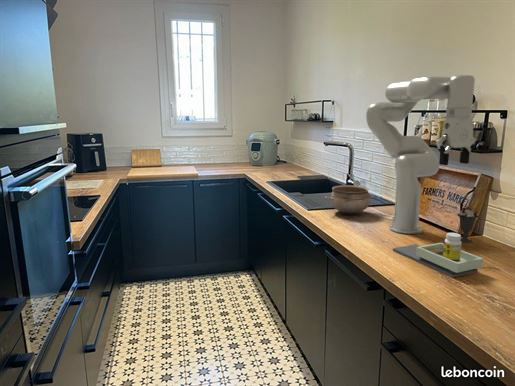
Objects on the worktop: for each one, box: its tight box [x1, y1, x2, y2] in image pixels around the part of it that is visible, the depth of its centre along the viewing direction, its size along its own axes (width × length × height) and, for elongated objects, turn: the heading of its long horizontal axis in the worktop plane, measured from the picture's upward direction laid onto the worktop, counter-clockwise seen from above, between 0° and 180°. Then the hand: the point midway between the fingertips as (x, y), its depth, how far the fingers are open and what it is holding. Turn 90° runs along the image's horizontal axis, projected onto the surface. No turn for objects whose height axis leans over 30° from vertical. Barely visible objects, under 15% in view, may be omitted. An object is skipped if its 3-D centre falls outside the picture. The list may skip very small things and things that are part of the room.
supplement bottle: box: [443, 232, 463, 262], centre depth 119 cm, size 5×5×8 cm
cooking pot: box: [324, 184, 375, 216], centre depth 185 cm, size 25×19×12 cm
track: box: [392, 244, 479, 278], centre depth 126 cm, size 25×11×1 cm, turn 23°
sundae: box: [457, 202, 479, 244], centre depth 144 cm, size 7×7×15 cm
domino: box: [429, 249, 444, 255], centre depth 124 cm, size 2×5×1 cm, turn 113°
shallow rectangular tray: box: [416, 242, 484, 274], centre depth 120 cm, size 16×11×4 cm
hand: (453, 164), depth 133 cm, fingers open, 9 cm apart
